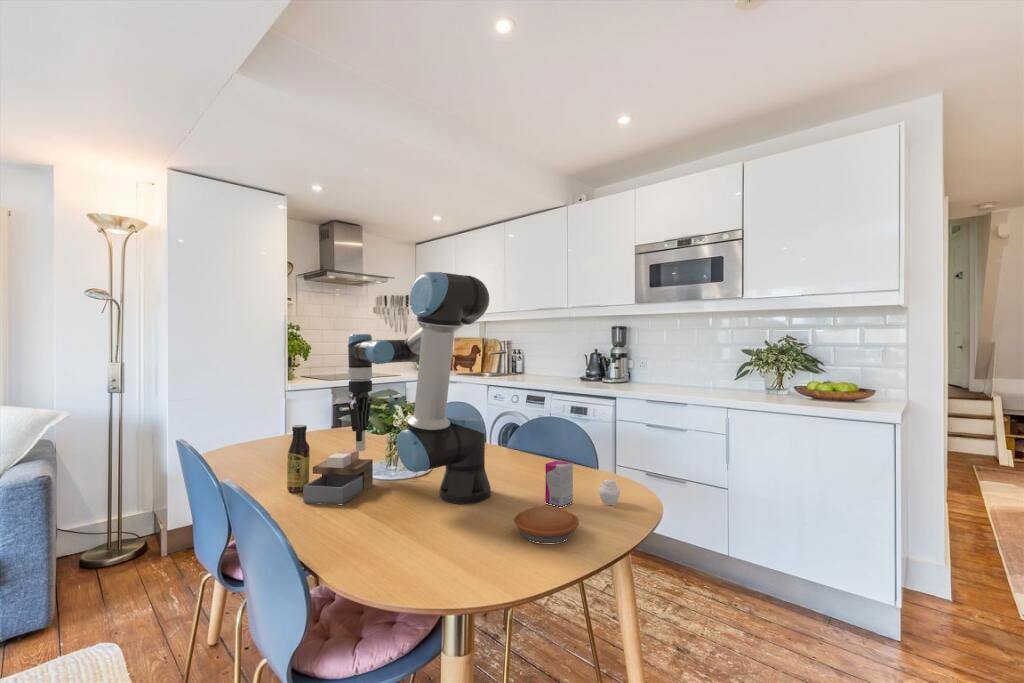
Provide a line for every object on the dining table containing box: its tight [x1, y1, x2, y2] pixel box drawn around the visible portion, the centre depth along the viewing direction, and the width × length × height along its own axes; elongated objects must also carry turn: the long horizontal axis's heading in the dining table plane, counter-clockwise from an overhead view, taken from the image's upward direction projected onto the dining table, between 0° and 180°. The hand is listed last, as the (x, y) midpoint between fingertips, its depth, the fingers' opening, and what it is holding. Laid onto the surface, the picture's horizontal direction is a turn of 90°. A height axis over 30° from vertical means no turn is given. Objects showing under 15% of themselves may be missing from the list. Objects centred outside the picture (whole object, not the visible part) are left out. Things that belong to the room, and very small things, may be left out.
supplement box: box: [544, 459, 574, 508], centre depth 133 cm, size 6×6×12 cm
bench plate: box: [312, 458, 374, 491], centre depth 146 cm, size 14×11×8 cm
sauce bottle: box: [286, 424, 311, 493], centre depth 146 cm, size 6×6×20 cm
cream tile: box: [326, 452, 351, 468], centre depth 144 cm, size 5×5×3 cm
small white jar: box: [597, 478, 621, 506], centre depth 133 cm, size 6×6×7 cm
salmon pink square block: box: [336, 448, 360, 463], centre depth 149 cm, size 5×5×3 cm
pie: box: [513, 505, 580, 544], centre depth 112 cm, size 15×16×5 cm
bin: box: [302, 474, 364, 506], centre depth 139 cm, size 12×12×5 cm
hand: (360, 450), depth 158 cm, fingers closed
